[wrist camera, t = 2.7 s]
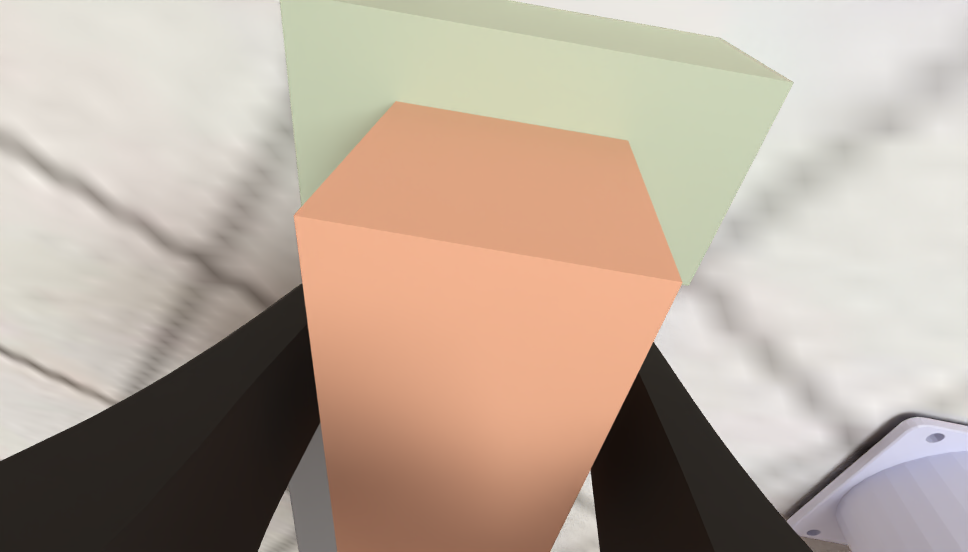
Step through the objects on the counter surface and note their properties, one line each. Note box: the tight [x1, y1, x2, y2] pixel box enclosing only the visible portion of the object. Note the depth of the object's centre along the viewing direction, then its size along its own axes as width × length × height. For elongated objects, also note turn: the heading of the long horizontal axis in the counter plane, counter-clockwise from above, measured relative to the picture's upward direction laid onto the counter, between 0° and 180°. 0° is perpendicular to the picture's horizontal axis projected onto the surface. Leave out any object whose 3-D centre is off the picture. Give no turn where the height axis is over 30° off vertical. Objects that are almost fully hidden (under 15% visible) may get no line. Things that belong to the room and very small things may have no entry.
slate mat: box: [288, 422, 337, 552], centre depth 23 cm, size 12×14×1 cm
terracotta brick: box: [294, 101, 683, 552], centre depth 9 cm, size 8×4×4 cm, turn 172°
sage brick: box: [280, 0, 794, 286], centre depth 10 cm, size 8×4×4 cm, turn 82°
